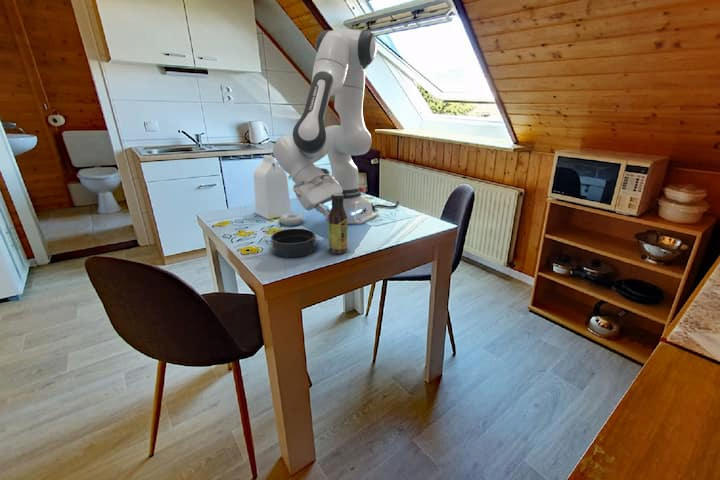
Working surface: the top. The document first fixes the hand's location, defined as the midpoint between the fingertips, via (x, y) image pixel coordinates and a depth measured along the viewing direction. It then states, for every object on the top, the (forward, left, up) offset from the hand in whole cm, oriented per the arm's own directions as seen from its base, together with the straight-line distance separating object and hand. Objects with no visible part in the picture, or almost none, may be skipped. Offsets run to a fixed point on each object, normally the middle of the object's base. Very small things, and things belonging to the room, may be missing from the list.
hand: (335, 211), depth 114 cm
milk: (-8, -52, -14) cm, 54 cm away
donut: (-6, -35, -14) cm, 38 cm away
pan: (+10, -11, -14) cm, 20 cm away
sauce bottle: (0, +1, -14) cm, 14 cm away
